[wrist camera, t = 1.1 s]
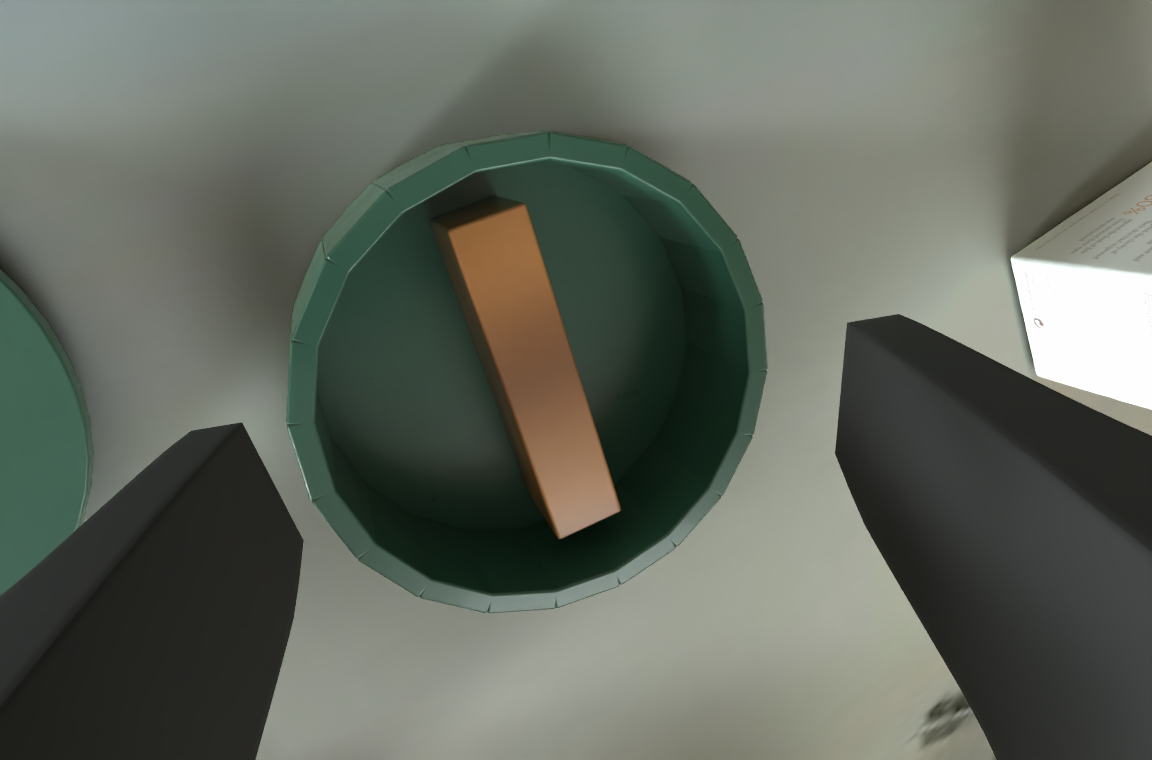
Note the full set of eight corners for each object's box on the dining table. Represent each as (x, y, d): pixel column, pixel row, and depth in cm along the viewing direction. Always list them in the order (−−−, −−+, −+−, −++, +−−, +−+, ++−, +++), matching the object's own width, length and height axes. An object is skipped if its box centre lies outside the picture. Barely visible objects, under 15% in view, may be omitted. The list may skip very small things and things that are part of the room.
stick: (588, 472, 23) (623, 511, 21) (531, 498, 23) (559, 541, 20) (497, 195, 20) (526, 202, 17) (428, 219, 19) (446, 230, 17)
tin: (660, 534, 25) (718, 598, 22) (281, 546, 21) (275, 628, 17) (729, 172, 22) (810, 177, 19) (303, 98, 18) (302, 85, 14)
